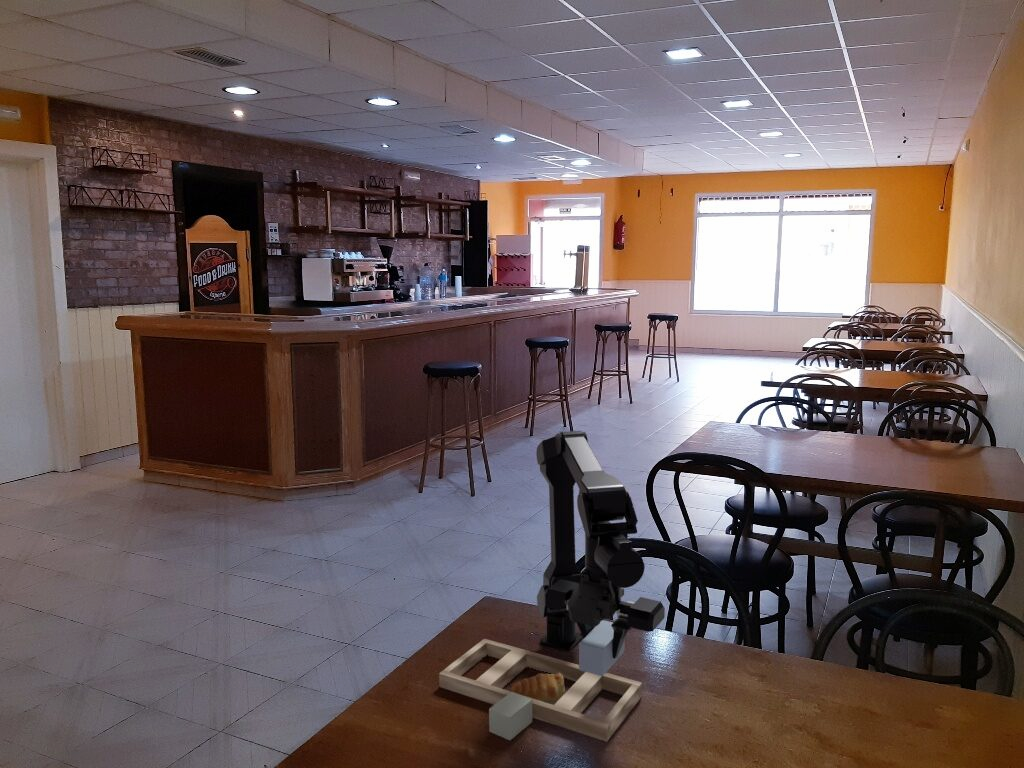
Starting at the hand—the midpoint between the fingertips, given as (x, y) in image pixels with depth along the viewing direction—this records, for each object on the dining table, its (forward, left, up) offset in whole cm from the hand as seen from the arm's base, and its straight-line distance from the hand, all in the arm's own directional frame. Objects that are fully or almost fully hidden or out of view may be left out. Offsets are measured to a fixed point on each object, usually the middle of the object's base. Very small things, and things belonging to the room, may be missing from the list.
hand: (602, 654), depth 126 cm
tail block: (+11, -11, -10) cm, 18 cm away
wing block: (0, 0, -1) cm, 1 cm away
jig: (0, -12, -10) cm, 15 cm away
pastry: (+1, -10, -10) cm, 15 cm away
